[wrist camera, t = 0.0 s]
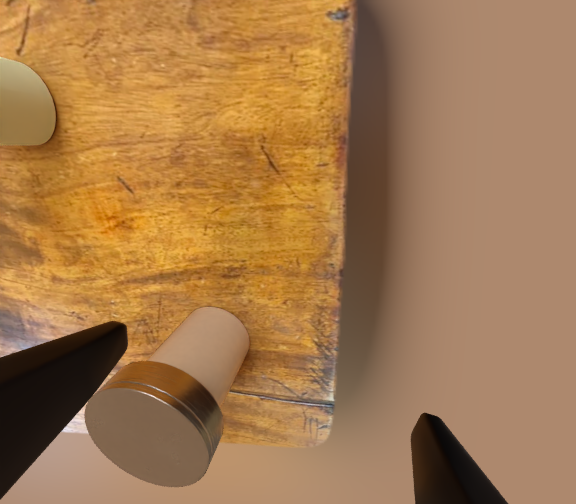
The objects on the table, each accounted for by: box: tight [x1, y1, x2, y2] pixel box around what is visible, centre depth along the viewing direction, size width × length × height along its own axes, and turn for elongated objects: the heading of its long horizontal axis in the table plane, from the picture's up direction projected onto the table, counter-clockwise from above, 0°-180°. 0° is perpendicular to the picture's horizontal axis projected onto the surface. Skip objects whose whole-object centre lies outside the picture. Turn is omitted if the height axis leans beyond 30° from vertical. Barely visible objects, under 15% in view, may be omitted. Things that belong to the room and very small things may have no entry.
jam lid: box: [85, 361, 224, 487], centre depth 15 cm, size 7×7×2 cm
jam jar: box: [146, 307, 250, 409], centre depth 18 cm, size 6×6×8 cm
